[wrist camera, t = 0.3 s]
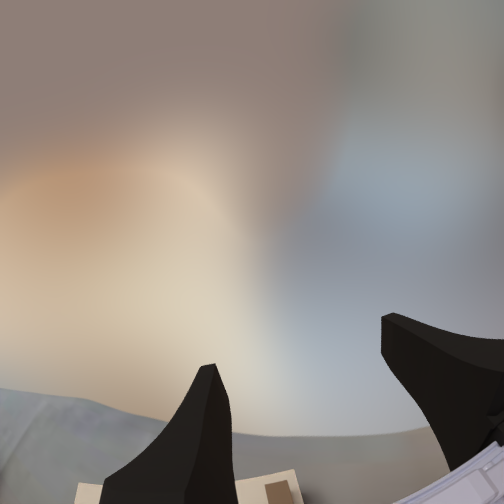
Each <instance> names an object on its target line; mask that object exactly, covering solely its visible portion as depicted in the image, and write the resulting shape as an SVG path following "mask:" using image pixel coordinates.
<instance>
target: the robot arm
mask: <svg viewBox="0 0 504 504" xmlns="http://www.w3.org/2000/svg"><path fill="white" fill-rule="evenodd" d="M381 321H382V322H381V354H382V356H383V358H384V360H385V361H386V363H387V365H388V366H389V368H390V370H391V371H392V372H393V374H394V375H395V376H396V378H397V379H398V380H399V381H400V383H401V384H402V385H403V386H404V388H405V389H406V390H407V391H408V393H409V394H410V395H411V396H412V398H413V399H414V400H415V402H416V403H417V404H418V406H419V407H420V409H421V410H422V412H423V414H424V415H425V417H426V419H427V421H428V422H429V424H430V426H431V428H432V430H433V432H434V434H435V436H436V438H437V440H438V442H439V444H440V446H441V449H442V451H443V453H444V455H445V458H446V461H447V463H448V466H449V469H450V471H451V472H450V473H449V474H447V475H446V476H444V477H442V478H441V479H439V480H437V481H435V482H434V483H432V484H430V485H428V486H427V487H425V488H423V489H421V490H419V491H417V492H415V493H413V494H411V495H409V496H407V497H405V498H403V499H401V500H399V501H397V502H395V503H392V504H504V339H502V340H501V339H485V338H476V337H470V336H465V335H460V334H455V333H452V332H448V331H445V330H441V329H438V328H435V327H432V326H429V325H427V324H424V323H421V322H419V321H416V320H413V319H411V318H408V317H405V316H403V315H400V314H396V313H390V314H388V315H385V316H382V317H381ZM99 504H239V503H238V497H237V492H236V486H235V480H234V473H233V463H232V421H231V411H230V404H229V398H228V395H227V393H226V390H225V387H224V385H223V382H222V380H221V377H220V375H219V372H218V369H217V366H216V364H209V365H204V366H201V367H200V368H199V370H198V373H197V374H196V377H195V379H194V381H193V383H192V385H191V387H190V389H189V391H188V393H187V394H186V396H185V398H184V400H183V402H182V403H181V405H180V407H179V408H178V410H177V411H176V413H175V415H174V416H173V418H172V419H171V420H170V422H169V423H168V424H167V426H166V427H165V428H164V430H163V431H162V432H161V433H160V434H159V436H158V437H157V438H156V439H155V440H154V441H153V442H152V443H151V444H150V445H149V446H148V447H147V448H146V449H145V450H144V451H143V452H142V453H141V454H139V455H138V456H137V457H136V458H135V459H133V460H132V461H131V462H130V463H128V464H127V465H126V466H124V467H123V468H121V469H120V470H118V471H117V472H115V473H114V474H112V475H111V476H109V477H107V478H106V479H105V481H104V484H103V487H102V491H101V496H100V501H99Z"/></svg>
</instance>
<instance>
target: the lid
mask: <svg viewBox="0 0 504 504" xmlns="http://www.w3.org/2000/svg"><path fill="white" fill-rule="evenodd" d="M235 486H236V492H237V497H238V503H239V504H304V502H303V499H302V495H301V492H300V489H299V485H298V482H297V478H296V475H295V472H294V469H292V470H288V471H283V472H279V473H275V474H270V475H265V476H260V477H255V478H250V479H244V480H238V481H235ZM102 487H103V485H94V484H85V483H79V484H78V489H77V493H76V498H75V503H74V504H99V501H100V496H101V491H102Z"/></svg>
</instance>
